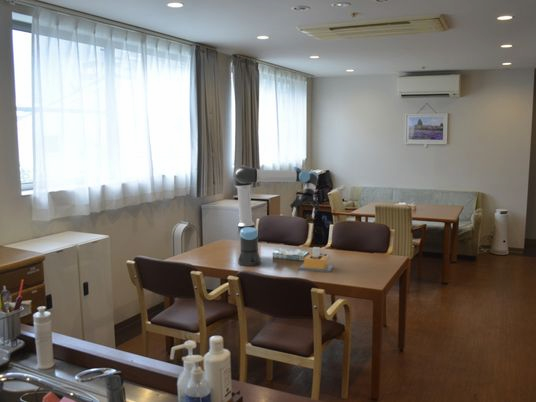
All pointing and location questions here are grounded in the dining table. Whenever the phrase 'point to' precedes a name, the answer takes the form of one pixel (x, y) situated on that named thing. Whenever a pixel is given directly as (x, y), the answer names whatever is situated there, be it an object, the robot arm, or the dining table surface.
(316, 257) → the white cylinder
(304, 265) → the yellow and grey block
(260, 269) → the dining table surface
